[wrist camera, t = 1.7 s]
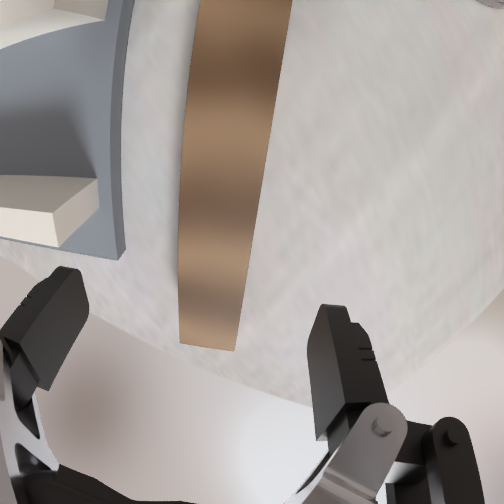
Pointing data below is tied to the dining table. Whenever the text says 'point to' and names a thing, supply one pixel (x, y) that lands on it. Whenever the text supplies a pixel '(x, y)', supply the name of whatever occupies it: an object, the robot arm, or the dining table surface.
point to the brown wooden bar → (225, 160)
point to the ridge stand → (62, 123)
